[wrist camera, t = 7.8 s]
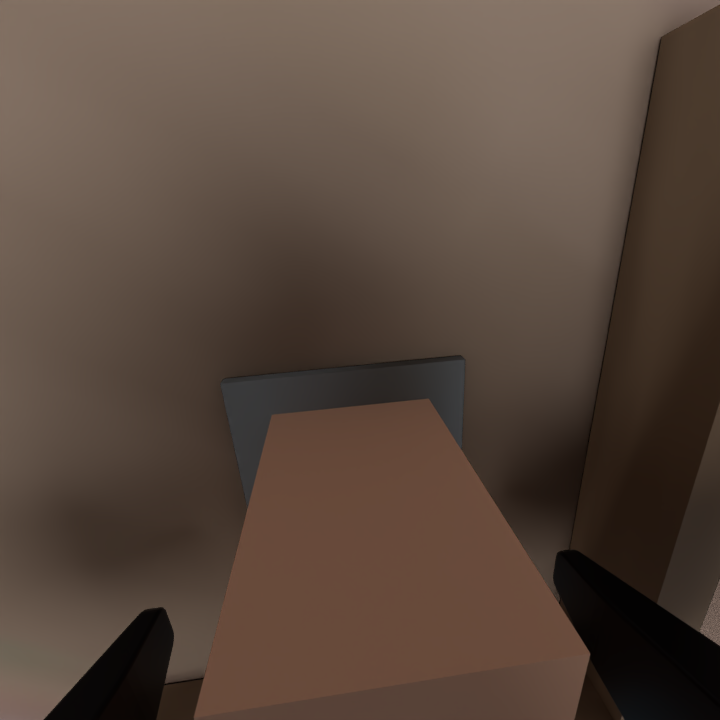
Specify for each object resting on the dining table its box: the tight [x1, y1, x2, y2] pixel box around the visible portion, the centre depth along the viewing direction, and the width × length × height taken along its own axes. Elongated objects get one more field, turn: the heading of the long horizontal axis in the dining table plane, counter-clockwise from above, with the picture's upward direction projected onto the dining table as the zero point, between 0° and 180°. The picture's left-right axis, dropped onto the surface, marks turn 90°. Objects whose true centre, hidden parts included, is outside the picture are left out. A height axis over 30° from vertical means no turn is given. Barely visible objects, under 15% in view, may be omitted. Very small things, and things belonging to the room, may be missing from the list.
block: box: [194, 399, 590, 720], centre depth 8 cm, size 7×4×6 cm, turn 4°
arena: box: [156, 5, 720, 720], centre depth 9 cm, size 16×19×3 cm
